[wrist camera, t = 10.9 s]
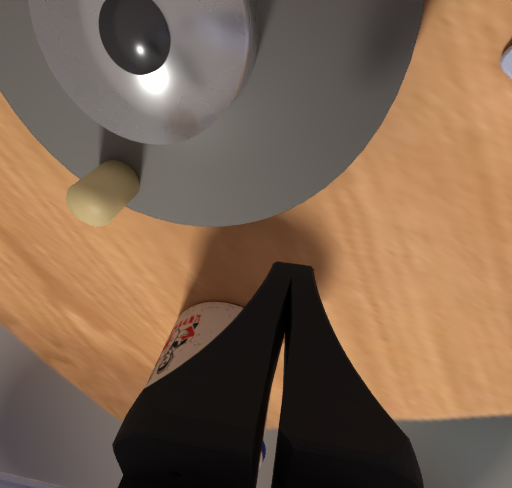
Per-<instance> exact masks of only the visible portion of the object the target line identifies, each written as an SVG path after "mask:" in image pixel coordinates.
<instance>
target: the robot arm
mask: <svg viewBox="0 0 512 488" xmlns="http://www.w3.org/2000/svg"><path fill="white" fill-rule="evenodd" d="M499 66H500V67H501V69H502V70H503V71H504V72H505V73H506V75H507V76H508V77H509V78H510V79H511V80H512V45H511V46H510V47H509V48H508V49H507V50H506V51H505V52H504V53H503V55H502V56H501V58H500V61H499ZM284 334H285V348H284V376H283V395H282V405H281V413H280V421H279V429H278V437H277V445H276V453H275V461H274V469H273V476H272V484H271V488H424V486H423V480H422V475H421V472H420V468H419V465H418V462H417V459H416V456H415V453H414V450H413V447H412V445H411V442H410V440H409V438H408V437H407V436H406V435H405V433H403V431H402V430H401V429H400V428H399V427H398V425H396V423H395V422H394V421H393V420H392V418H391V417H390V416H389V415H388V414H387V412H386V411H385V410H384V409H383V407H382V406H381V405H380V403H379V402H378V401H377V400H376V398H375V397H374V396H373V394H372V393H371V392H370V390H369V389H368V387H367V386H366V384H365V383H364V382H363V380H362V379H361V377H360V376H359V374H358V373H357V371H356V370H355V368H354V367H353V365H352V363H351V362H350V360H349V359H348V357H347V355H346V353H345V352H344V350H343V348H342V346H341V345H340V343H339V341H338V339H337V337H336V335H335V333H334V331H333V328H332V326H331V324H330V322H329V320H328V317H327V315H326V312H325V310H324V307H323V304H322V302H321V299H320V296H319V293H318V289H317V286H316V281H315V277H314V269H313V268H312V267H311V266H306V265H298V264H291V263H283V262H275V263H274V264H273V265H272V268H271V270H270V272H269V273H268V275H267V277H266V278H265V280H264V282H263V283H262V285H261V286H260V288H259V289H258V290H257V292H256V293H255V294H254V296H253V297H252V299H251V300H250V301H249V302H248V304H247V305H246V306H245V307H244V308H243V309H242V311H241V312H240V313H239V314H238V315H237V316H236V318H235V319H234V320H233V321H232V322H231V323H230V324H229V325H228V326H227V327H226V328H225V329H224V330H223V331H222V332H221V333H220V334H219V335H218V336H216V337H215V338H214V339H213V340H212V341H211V342H210V343H209V344H207V345H206V346H205V347H204V348H203V349H201V350H200V351H199V352H198V353H196V354H195V355H194V356H192V357H191V358H190V359H188V360H187V361H186V362H184V363H183V364H182V365H180V366H179V367H177V368H176V369H174V370H173V371H172V372H170V373H168V374H167V375H165V376H164V377H162V378H160V379H159V380H157V381H156V382H154V383H152V384H151V385H149V386H147V387H146V388H144V389H143V391H142V392H141V393H140V395H139V396H138V398H137V399H136V401H135V402H134V404H133V405H132V407H131V408H130V410H129V412H128V413H127V415H126V417H125V419H124V421H123V423H122V425H121V427H120V429H119V432H118V434H117V436H116V438H115V440H114V442H113V451H114V454H115V456H116V459H117V461H118V463H119V466H120V468H121V470H122V473H123V477H122V479H121V482H120V484H119V487H118V488H256V484H257V477H258V470H259V463H260V457H261V450H262V443H263V436H264V430H265V423H266V416H267V410H268V403H269V397H270V392H271V387H272V383H273V378H274V374H275V370H276V366H277V362H278V358H279V354H280V350H281V346H282V342H283V338H284ZM0 488H67V487H64V486H59V485H55V484H50V483H46V482H42V481H38V480H33V479H29V478H25V477H20V476H16V475H11V474H8V473H3V472H0Z"/></svg>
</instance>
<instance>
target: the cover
mask: <svg viewBox="0 0 512 488" xmlns="http://www.w3.org/2000/svg"><path fill="white" fill-rule="evenodd" d="M28 3H29V9H30V16H31V20H32V24H33V28H34V32H35V35H36V37H37V40H38V43H39V46H40V49H41V51H42V53H43V55H44V57H45V60H46V62H47V64H48V66H49V67H50V69H51V71H52V73H53V74H54V76H55V78H56V79H57V81H58V82H59V84H60V85H61V86H62V88H63V89H64V91H65V92H66V93H67V94H68V96H69V97H70V98H71V99H72V100H73V102H74V103H75V104H76V105H77V106H78V107H79V108H80V109H81V110H82V111H83V112H84V113H86V114H87V115H88V116H89V117H90V118H92V119H93V120H94V121H95V122H97V123H98V124H100V125H101V126H103V127H104V128H106V129H107V130H109V131H111V132H113V133H115V134H117V135H119V136H121V137H124V138H127V139H129V140H132V141H136V142H140V143H146V144H153V145H165V144H172V143H178V142H181V141H184V140H188V139H190V138H192V137H194V136H196V135H198V134H200V133H201V132H203V131H204V130H206V129H207V128H208V127H210V126H211V125H212V124H213V123H214V122H215V121H216V120H217V119H218V118H219V117H220V116H221V115H222V114H223V113H224V112H225V111H226V109H227V108H228V107H229V106H230V105H231V104H232V103H233V102H234V101H235V99H236V98H237V97H238V96H239V95H240V93H241V92H242V90H243V89H244V87H245V85H246V84H247V82H248V79H249V77H250V75H251V73H252V70H253V67H254V64H255V60H256V56H257V50H258V44H259V15H258V8H257V2H256V0H28Z"/></svg>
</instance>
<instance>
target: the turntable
mask: <svg viewBox="0 0 512 488" xmlns="http://www.w3.org/2000/svg"><path fill="white" fill-rule="evenodd" d="M256 2H257V8H258V15H259V44H258V50H257V56H256V60H255V64H254V67H253V70H252V73H251V75H250V77H249V79H248V82H247V84H246V85H245V87H244V89H243V90H242V92H241V93H240V95H239V96H238V97H237V98H236V99H235V101H234V102H233V103H232V104H231V105H230V106H229V107H228V108H227V109H226V111H225V112H224V113H223V114H222V115H221V116H220V117H219V118H218V119H217V120H216V121H215V122H214V123H213V124H212V125H211V126H210V127H208V128H207V129H206V130H204V131H203V132H201V133H200V134H198V135H196V136H194V137H192V138H190V139H188V140H184V141H181V142H178V143H172V144H165V145H153V144H146V143H140V142H136V141H132V140H129V139H127V138H124V137H121V136H119V135H117V134H115V133H113V132H111V131H109V130H107V129H106V128H104V127H103V126H101V125H100V124H98V123H97V122H95V121H94V120H93V119H92V118H90V117H89V116H88V115H87V114H86V113H84V112H83V111H82V110H81V109H80V108H79V107H78V106H77V105H76V104H75V103H74V102H73V100H72V99H71V98H70V97H69V96H68V94H67V93H66V92H65V91H64V89H63V88H62V86H61V85H60V84H59V82H58V81H57V79H56V78H55V76H54V74H53V73H52V71H51V69H50V67H49V66H48V64H47V62H46V60H45V57H44V55H43V53H42V51H41V49H40V46H39V43H38V40H37V37H36V35H35V32H34V28H33V24H32V20H31V16H30V9H29V3H28V0H0V91H1V93H2V94H3V96H4V97H5V99H6V100H7V102H8V103H9V105H10V106H11V108H12V109H13V111H14V112H15V113H16V115H17V116H18V117H19V118H20V120H21V121H22V122H23V123H24V125H25V126H26V127H27V128H28V130H29V131H30V132H31V133H32V135H33V136H34V137H35V138H36V139H37V140H38V141H39V142H40V143H41V144H42V145H43V146H44V147H45V148H46V149H47V150H48V152H49V153H50V154H51V155H52V156H53V157H55V158H56V159H57V160H58V161H59V162H60V163H61V164H62V165H64V166H65V167H66V168H67V169H68V170H69V171H70V172H71V173H73V174H74V175H75V176H77V177H78V178H79V179H80V180H79V181H78V182H76V183H75V184H74V185H72V186H71V187H70V188H69V189H68V191H67V194H66V200H67V204H68V207H69V208H70V210H71V212H72V213H73V214H74V215H75V216H76V217H77V218H78V219H79V220H81V221H82V222H84V223H86V224H88V225H91V226H96V227H101V226H105V225H107V224H108V223H109V222H110V221H111V220H112V219H113V218H114V217H115V216H116V215H117V214H118V213H119V212H120V211H121V210H122V209H123V208H124V207H125V206H126V207H128V208H130V209H132V210H134V211H137V212H139V213H142V214H145V215H148V216H150V217H153V218H156V219H160V220H164V221H168V222H172V223H177V224H184V225H192V226H207V227H221V226H232V225H241V224H246V223H250V222H255V221H259V220H263V219H266V218H269V217H272V216H274V215H277V214H280V213H283V212H285V211H287V210H289V209H291V208H293V207H295V206H297V205H299V204H301V203H303V202H305V201H306V200H308V199H309V198H311V197H312V196H314V195H315V194H317V193H318V192H319V191H321V190H322V189H324V188H325V187H326V186H328V185H329V184H330V183H331V182H332V181H333V180H334V179H336V178H337V177H338V176H339V175H340V174H341V173H343V172H344V171H345V170H346V169H347V167H348V166H349V165H350V164H351V163H352V162H353V161H354V160H355V159H356V157H357V156H358V155H359V154H360V153H361V152H362V151H363V150H364V148H365V147H366V145H367V144H368V143H369V141H370V140H371V138H372V137H373V135H374V134H375V133H376V131H377V130H378V128H379V127H380V125H381V124H382V122H383V120H384V118H385V116H386V115H387V113H388V111H389V109H390V107H391V105H392V103H393V102H394V100H395V98H396V96H397V94H398V91H399V89H400V86H401V84H402V81H403V79H404V76H405V74H406V71H407V69H408V66H409V64H410V61H411V57H412V54H413V50H414V46H415V43H416V39H417V35H418V32H419V28H420V24H421V19H422V12H423V6H424V0H256Z"/></svg>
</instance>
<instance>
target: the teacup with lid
mask: <svg viewBox="0 0 512 488" xmlns="http://www.w3.org/2000/svg"><path fill="white" fill-rule="evenodd" d="M242 309H243V307H240V306H237V305H234V304H230V303H224V302H205V303H200V304H197V305H194V306H192V307H190V308H188V309H187V310H185V311H184V312H183V313H182V314H181V315H180V316H179V318H178V319H177V321H176V323H175V325H174V327H173V329H172V332H171V334H170V336H169V338H168V340H167V342H166V344H165V346H164V348H163V351H162V353H161V355H160V357H159V359H158V361H157V363H156V365H155V367H154V370H153V372H152V374H151V376H150V378H149V380H148V382H147V384H146V386H145V388H146V387H147V386H149V385H151V384H152V383H154V382H156V381H157V380H159V379H160V378H162V377H164V376H165V375H167V374H168V373H170V372H172V371H173V370H174V369H176V368H177V367H179V366H180V365H182V364H183V363H184V362H186V361H187V360H188V359H190V358H191V357H192V356H194V355H195V354H196V353H198V352H199V351H200V350H201V349H203V348H204V347H205V346H206V345H207V344H209V343H210V342H211V341H212V340H213V339H214V338H215V337H216V336H218V335H219V334H220V333H221V332H222V331H223V330H224V329H225V328H226V327H227V326H228V325H229V324H230V323H231V322H232V321H233V320H234V319H235V318H236V316H237V315H238V314H239V313H240V312H241V311H242ZM270 393H271V392H270ZM269 400H270V397H269ZM268 407H269V403H268ZM267 414H268V410H267ZM266 420H267V416H266ZM265 427H266V423H265ZM264 434H265V430H264ZM263 440H264V436H263ZM265 452H266V449H265V444H264V441H263V443H262V450H261V457H260V463H259V468H260V466H261V464H262V462H263V460H264V458H265V454H266V453H265Z"/></svg>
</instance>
